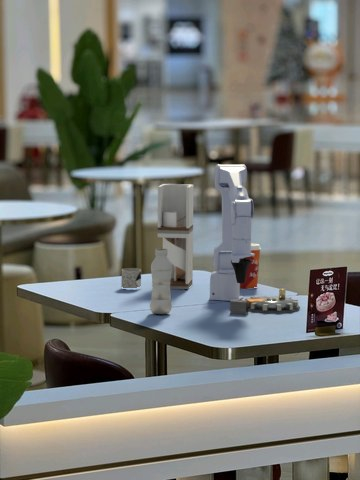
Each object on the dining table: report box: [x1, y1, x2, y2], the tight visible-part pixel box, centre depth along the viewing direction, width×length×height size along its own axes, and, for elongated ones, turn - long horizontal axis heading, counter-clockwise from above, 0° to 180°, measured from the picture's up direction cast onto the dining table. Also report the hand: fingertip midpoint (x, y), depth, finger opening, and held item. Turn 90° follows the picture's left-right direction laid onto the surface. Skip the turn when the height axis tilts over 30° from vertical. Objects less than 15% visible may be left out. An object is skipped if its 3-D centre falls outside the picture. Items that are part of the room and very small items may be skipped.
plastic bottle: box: [149, 247, 173, 315], centre depth 374 cm, size 6×7×20 cm
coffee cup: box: [240, 242, 262, 290], centre depth 423 cm, size 8×8×15 cm
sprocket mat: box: [248, 305, 301, 315], centre depth 387 cm, size 19×18×1 cm
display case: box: [157, 183, 195, 290], centre depth 422 cm, size 11×11×35 cm
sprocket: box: [244, 288, 299, 311], centre depth 387 cm, size 17×17×5 cm
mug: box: [121, 267, 142, 288], centre depth 421 cm, size 10×7×7 cm
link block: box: [229, 299, 249, 316], centre depth 378 cm, size 5×3×4 cm, turn 71°
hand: (240, 282), depth 377 cm, fingers closed
